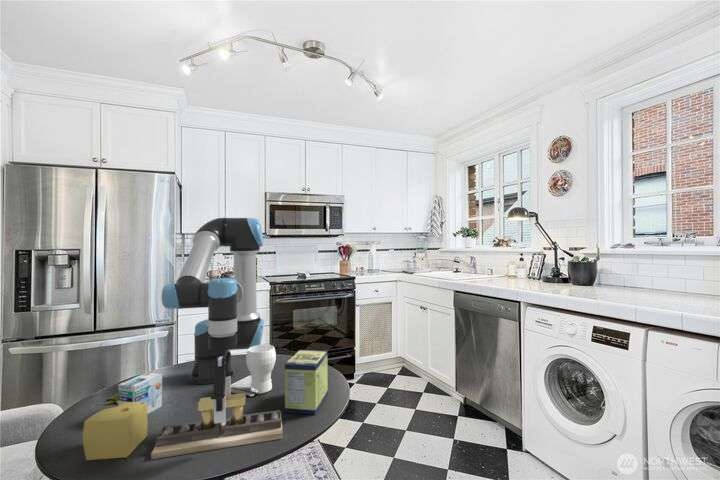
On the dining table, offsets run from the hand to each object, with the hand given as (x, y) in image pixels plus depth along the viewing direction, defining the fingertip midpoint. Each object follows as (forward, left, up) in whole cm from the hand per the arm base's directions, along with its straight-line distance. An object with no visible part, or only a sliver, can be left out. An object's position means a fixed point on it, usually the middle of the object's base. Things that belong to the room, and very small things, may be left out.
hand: (222, 410), depth 94 cm
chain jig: (0, 0, -7) cm, 7 cm away
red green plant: (-35, -36, -8) cm, 51 cm away
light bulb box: (-22, -27, -8) cm, 36 cm away
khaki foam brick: (0, 0, -6) cm, 6 cm away
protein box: (-13, +25, -8) cm, 29 cm away
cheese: (-2, -26, -8) cm, 27 cm away
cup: (-29, +10, -7) cm, 32 cm away
